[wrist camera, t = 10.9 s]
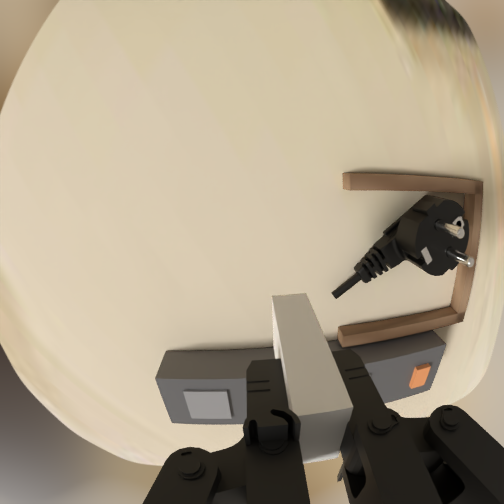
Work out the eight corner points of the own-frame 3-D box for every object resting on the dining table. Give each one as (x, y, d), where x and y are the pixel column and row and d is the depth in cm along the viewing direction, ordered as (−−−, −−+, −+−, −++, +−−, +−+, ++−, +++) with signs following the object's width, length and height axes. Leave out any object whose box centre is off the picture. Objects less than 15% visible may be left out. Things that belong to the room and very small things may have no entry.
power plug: (347, 313, 23) (443, 230, 22) (380, 365, 16) (498, 254, 14) (312, 267, 22) (418, 179, 20) (342, 312, 15) (478, 188, 13)
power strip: (166, 350, 24) (153, 382, 20) (426, 323, 24) (449, 346, 20) (179, 395, 26) (170, 427, 22) (414, 368, 26) (431, 392, 22)
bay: (342, 173, 20) (350, 173, 19) (472, 180, 20) (482, 181, 19) (337, 337, 24) (342, 347, 23) (455, 314, 24) (462, 321, 23)
